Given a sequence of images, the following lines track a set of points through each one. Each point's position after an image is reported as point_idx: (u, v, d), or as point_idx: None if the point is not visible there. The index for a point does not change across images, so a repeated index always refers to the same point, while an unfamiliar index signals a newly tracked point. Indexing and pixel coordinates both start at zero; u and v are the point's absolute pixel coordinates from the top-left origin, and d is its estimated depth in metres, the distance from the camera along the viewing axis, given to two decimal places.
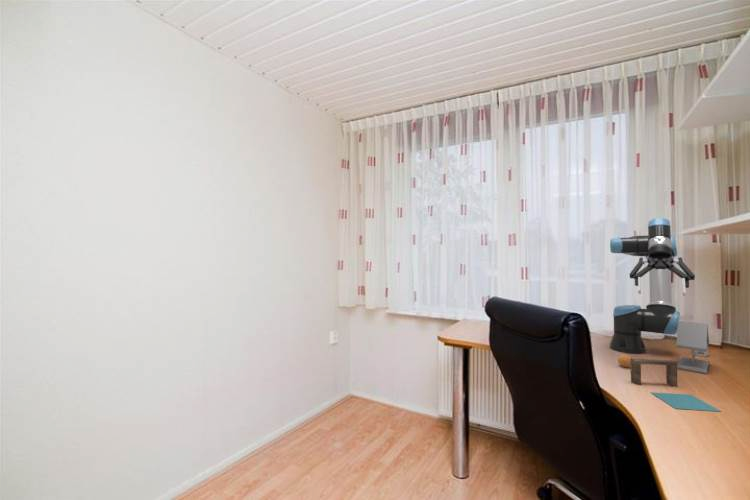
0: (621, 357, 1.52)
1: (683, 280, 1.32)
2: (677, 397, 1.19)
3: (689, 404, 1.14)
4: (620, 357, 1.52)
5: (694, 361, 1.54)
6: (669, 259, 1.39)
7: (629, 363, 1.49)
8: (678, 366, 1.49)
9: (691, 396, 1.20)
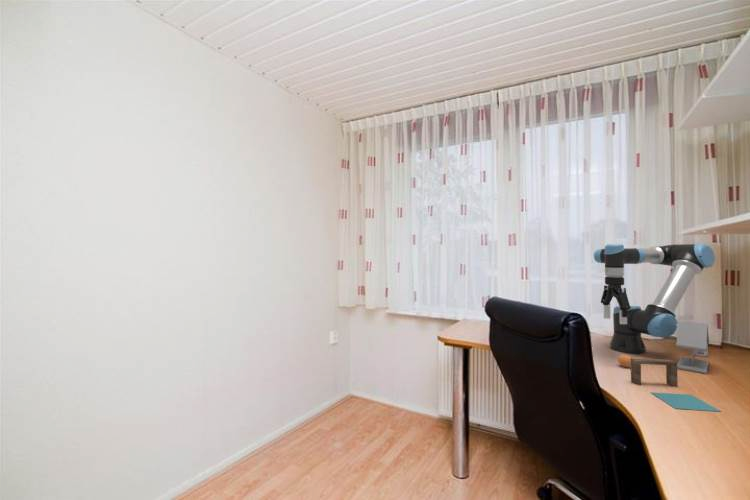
0: (621, 357, 1.52)
1: (620, 312, 1.54)
2: (677, 397, 1.19)
3: (689, 404, 1.14)
4: (620, 357, 1.52)
5: (694, 361, 1.54)
6: (615, 289, 1.58)
7: (629, 363, 1.49)
8: (678, 366, 1.49)
9: (691, 396, 1.20)
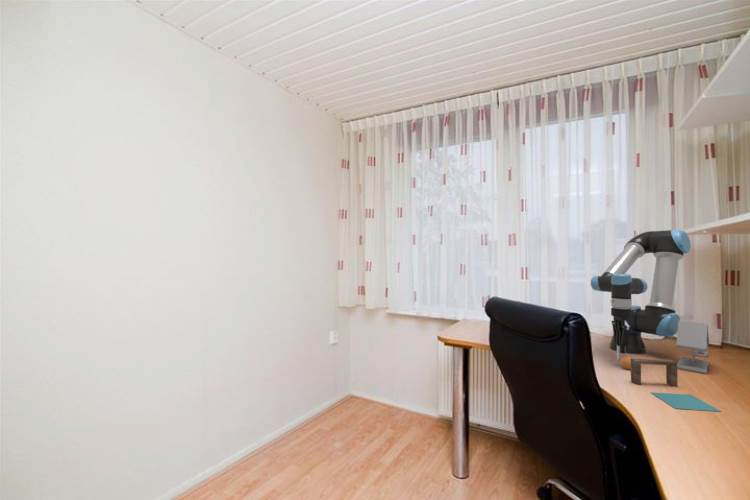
0: (625, 362, 1.48)
1: (618, 347, 1.53)
2: (677, 397, 1.19)
3: (689, 404, 1.14)
4: (624, 361, 1.49)
5: (694, 361, 1.54)
6: (621, 321, 1.51)
7: None
8: (678, 366, 1.49)
9: (691, 396, 1.20)
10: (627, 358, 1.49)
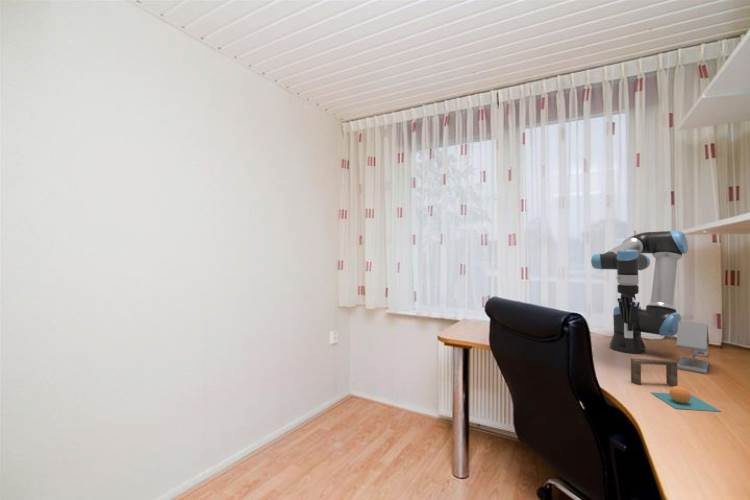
0: (676, 394, 1.15)
1: (625, 325, 1.49)
2: None
3: (689, 404, 1.14)
4: (675, 393, 1.15)
5: (694, 361, 1.54)
6: (628, 298, 1.47)
7: (685, 402, 1.14)
8: (678, 366, 1.49)
9: (691, 396, 1.20)
10: (679, 389, 1.15)
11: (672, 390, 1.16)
